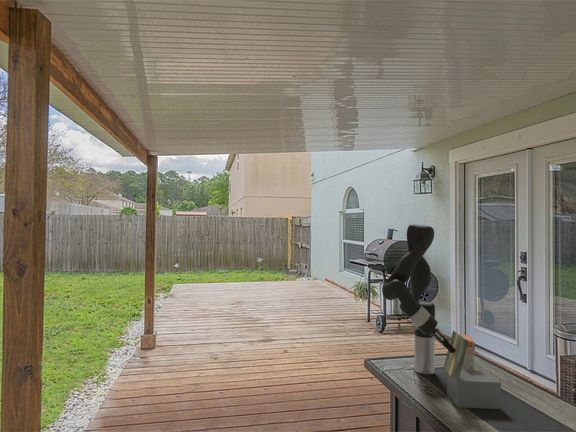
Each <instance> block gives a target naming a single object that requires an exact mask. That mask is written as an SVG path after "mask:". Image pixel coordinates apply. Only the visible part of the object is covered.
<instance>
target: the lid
mask: <svg viewBox="0 0 576 432" xmlns="http://www.w3.org/2000/svg"><path fill="white" fill-rule="evenodd" d="M449 343H450V344H451V345H452V346H453V348H454V349H455V352H454V353H451V352H450V351H449V350H448V349H447V354H446V357H445V361H444V363H443V369H444V370H445V371H446V374H447V373H448V374H449V375H450V376H452V378H453V379H454V380H456V381H459V377H460V373H461V369H462V365H463V361H464V357H465V353H466V349H467V345H468V340H467V339H465V338H464V337H463V336H461V335H460V333H458V332H457V331H454V330H453V331H452V334H451V337H450V341H449Z"/></svg>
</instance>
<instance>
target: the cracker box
mask: <svg viewBox="0 0 576 432" xmlns="http://www.w3.org/2000/svg"><path fill="white" fill-rule="evenodd" d="M459 334H460V333H459ZM460 335H461V336H463V337H464V338H465V339H467V340H468V345H467V349H466V353H465V357H464V361H463V365H462V369H461V370H475V368H476V367H475V365H476V364H475V362H476V361H475V353H476V352H475V348H476V347H475V346H476V344H475V343H476V342H475V341H474V340H473V339H472V338H471V337H470V336H469V335H468V334H462V333H461V334H460Z"/></svg>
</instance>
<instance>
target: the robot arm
mask: <svg viewBox="0 0 576 432" xmlns="http://www.w3.org/2000/svg"><path fill="white" fill-rule="evenodd" d="M434 230H435V229H434V228H433V227H432V226H430V225H424V224H416V223H411V224H409V225H408V226H407V229H406V243H407V249H408V252H407V253H406V254H405V255H403V256H402V257H401V258H400V259H399V260H398V261H397V264H396V265H395V267H394V269H393V272H392V273H391V274H390V276H388V278H387V280H386V281H385V283H383V286H382V290H381V291H382V296H383V298H385V299H386V300H387V301H394V300H396V299H398V300H399V302H400V303H399V309H400V310H401V311H402V312H403V313H404V315H406V316H407V317H408V319H409V320H410V321H411V323H412V324H413V325H414V326H415V327H416V328H415V329H414V372H416V373H418V374H420V375H434V374H435V370H436V367H435V366H436V365H435V362H436V361H435V357H436V356H435V352H436V351H435V348H436V345H435V344H436V341H437V343H438V344H440V345H442V346H443V347H444V348H445V349H447V351H448V350H449V351H450V352H451V353H454V352H455V349H454V348H453V346H452V345H451V344H450V341H449V340H448V339H447V337H446V336H445V335H444V334H443V332H442V331H441V330H440V329H439V328H438V327H437V326H438V320H436V306H435V304H434V303H433V302H427V301H420V298H421V296H422V295H423V294H424V292H425V291H426V290H427V289H428V287H430V285H431V282H432V272H431V267H430V265H429V263H428V262H427V260H426V258H425V257H424V255H425V254H426V252H427V251H428V249H429V248H430V247H431V245H432V243H433V241H434V239H435V238H434V237H435V231H434ZM408 281H410V287H411V291H410V289H409V288H408V286H407V284H406V282H408Z"/></svg>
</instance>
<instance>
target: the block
mask: <svg viewBox="0 0 576 432" xmlns="http://www.w3.org/2000/svg"><path fill="white" fill-rule="evenodd" d="M501 383H502V382H501V381H500V380H499V379H497V378H496V377H495V376H493V375H492V374H491V373H490V372H488V371H487V370H478V369H474V370H461V373H460V377H459V381H456V380H454V379H453V378H452V376H450V375H449V374H448V373H447V372H446V394H447V396H448V397H449V398H450V399H451V400H453V401H452V402H453V403H454V404H455V405H456V407H457V408H463V409H464V408H466V409H467V408H468V409H469V408H470V409H489V410H490V409H491V410H502V384H501Z"/></svg>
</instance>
